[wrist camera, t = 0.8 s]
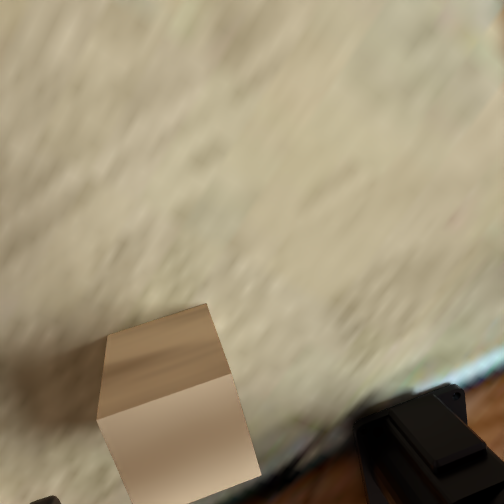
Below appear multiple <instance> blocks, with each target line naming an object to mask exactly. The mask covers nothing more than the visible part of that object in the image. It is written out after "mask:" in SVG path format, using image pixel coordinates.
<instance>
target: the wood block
mask: <svg viewBox="0 0 504 504" xmlns="http://www.w3.org/2000/svg"><path fill="white" fill-rule="evenodd" d="M96 421H97V423H98V425H99V428H100V430H101V432H102V435H103V437H104V439H105V441H106V444H107V446H108V448H109V451H110V453H111V455H112V458H113V460H114V462H115V464H116V467H117V469H118V471H119V474H120V476H121V478H122V481H123V483H124V485H125V488H126V490H127V492H128V494H129V497H130V499H131V501H132V504H189V503H191V502H194V501H196V500H199V499H201V498H204V497H207V496H209V495H212V494H214V493H217V492H220V491H222V490H225V489H227V488H230V487H233V486H235V485H238V484H240V483H243V482H246V481H248V480H251V479H253V478H256V477H259V476H261V471H260V468H259V464H258V461H257V458H256V454H255V451H254V448H253V444H252V441H251V437H250V434H249V431H248V427H247V424H246V420H245V417H244V414H243V410H242V407H241V404H240V400H239V397H238V393H237V390H236V387H235V383H234V380H233V377H232V373H231V370H230V368H229V365H228V362H227V359H226V357H225V354H224V351H223V348H222V345H221V343H220V340H219V337H218V334H217V332H216V329H215V326H214V323H213V320H212V318H211V315H210V312H209V309H208V307H207V304H203V305H200V306H197V307H194V308H191V309H187V310H184V311H181V312H178V313H175V314H172V315H169V316H166V317H162V318H159V319H156V320H153V321H150V322H147V323H144V324H141V325H138V326H134V327H131V328H128V329H125V330H122V331H119V332H116V333H113V334H109V335H108V337H107V344H106V352H105V359H104V367H103V374H102V381H101V389H100V396H99V404H98V411H97V419H96Z"/></svg>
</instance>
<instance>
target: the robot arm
mask: <svg viewBox="0 0 504 504" xmlns="http://www.w3.org/2000/svg"><path fill="white" fill-rule="evenodd" d="M454 393H455V394H454ZM363 428H365V429H364V430H362V429H363ZM361 430H362V431H361ZM353 433H354V438H355V443H356V448H357V453H358V458H359V463H360V468H361V473H362V479H363V484H364V489H365V494H366V499H367V504H504V462H503V461H502V460H501V459H500V458H499V457H498V456H497V455H496V454H495V453H494V452H493V451H492V450H491V449H490V448H489V447H488V446H487V445H486V443H485V442H484V441H483V440H482V439H481V438H480V437H479V436H478V435H477V434H476V433H475V432H474V431H473V430H472V429H471V428H470V427H469V426H468V425H467V414H466V403H465V393H464V390H463V389H461V388H460V387H459V386H458V385H456V384H452V385H449V386H446V387H444V388H441V389H438V390H436V391H433V392H431V393H428V394H425V395H423V396H420V397H417V398H415V399H412V400H409V401H407V402H404V403H402V404H399V405H396V406H394V407H391V408H388V409H386V410H383V411H380V412H378V413H375V414H373V415H370V416H367V417H365V418H362V419H360V420H358V421H356V423H355V424H354V426H353ZM30 504H61V503H60V501H59V499H58V498H57V497H56V496H49V497H46V498H42V499H39V500H36V501H34V502H31V503H30Z"/></svg>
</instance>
